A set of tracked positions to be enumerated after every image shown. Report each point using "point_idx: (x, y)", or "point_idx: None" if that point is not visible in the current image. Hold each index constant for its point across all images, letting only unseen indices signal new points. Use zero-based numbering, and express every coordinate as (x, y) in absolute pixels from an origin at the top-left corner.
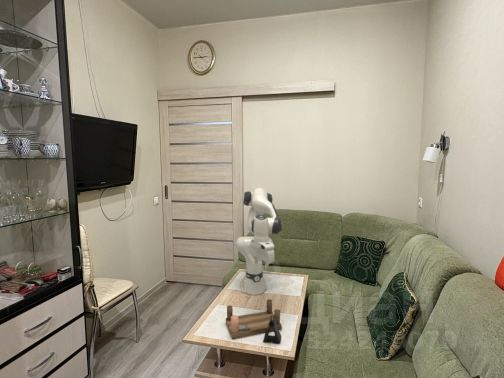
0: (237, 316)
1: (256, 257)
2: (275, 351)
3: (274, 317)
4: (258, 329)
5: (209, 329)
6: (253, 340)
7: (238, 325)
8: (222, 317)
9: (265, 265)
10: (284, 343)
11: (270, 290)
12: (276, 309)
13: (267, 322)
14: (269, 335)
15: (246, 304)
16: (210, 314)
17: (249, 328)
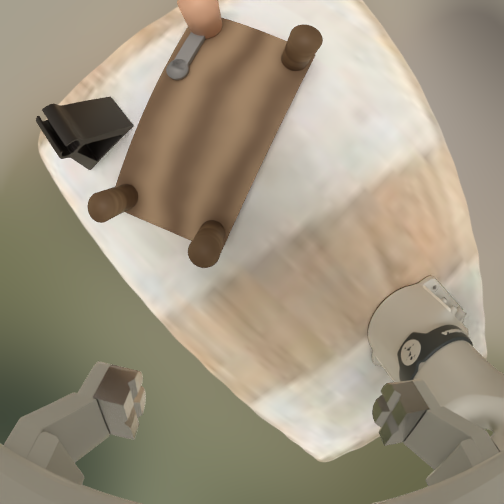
0: (192, 10)
1: (436, 463)
2: None
3: (52, 145)
4: (146, 106)
5: (313, 2)
6: (140, 74)
7: (188, 25)
8: (352, 80)
9: (76, 400)
10: None
11: (356, 363)
12: (110, 214)
13: (156, 169)
14: (118, 138)
15: (361, 225)
16: (398, 68)
17: (167, 72)
